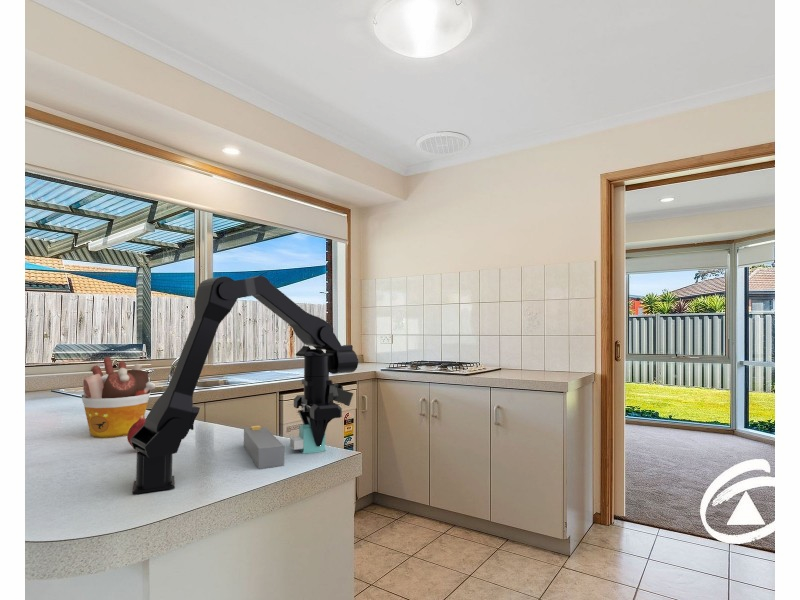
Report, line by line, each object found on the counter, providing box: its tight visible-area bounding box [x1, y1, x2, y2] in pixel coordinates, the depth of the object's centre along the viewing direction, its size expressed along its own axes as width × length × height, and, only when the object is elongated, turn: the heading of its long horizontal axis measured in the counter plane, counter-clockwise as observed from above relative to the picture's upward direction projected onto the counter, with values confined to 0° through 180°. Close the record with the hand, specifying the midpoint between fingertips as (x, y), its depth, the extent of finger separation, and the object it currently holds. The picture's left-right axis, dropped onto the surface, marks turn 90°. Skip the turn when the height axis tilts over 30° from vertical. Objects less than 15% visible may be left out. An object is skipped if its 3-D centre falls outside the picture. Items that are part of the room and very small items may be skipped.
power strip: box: [243, 425, 285, 470], centre depth 106 cm, size 24×5×5 cm, turn 27°
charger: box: [289, 424, 326, 455], centre depth 108 cm, size 4×7×6 cm, turn 117°
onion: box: [126, 415, 146, 448], centre depth 108 cm, size 6×6×8 cm
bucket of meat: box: [81, 356, 157, 439], centre depth 127 cm, size 20×16×20 cm
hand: (315, 443), depth 109 cm, fingers closed on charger, 4 cm apart
